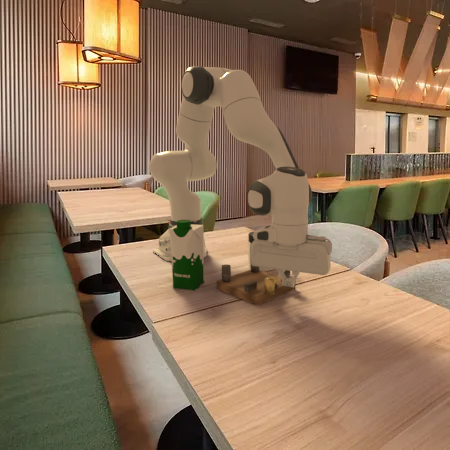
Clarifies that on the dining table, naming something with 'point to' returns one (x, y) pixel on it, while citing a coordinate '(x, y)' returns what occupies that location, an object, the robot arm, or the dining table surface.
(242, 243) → the dining table surface
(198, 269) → the milk carton
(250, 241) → the jar
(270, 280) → the gold bone
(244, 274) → the stool seat
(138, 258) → the dining table surface
